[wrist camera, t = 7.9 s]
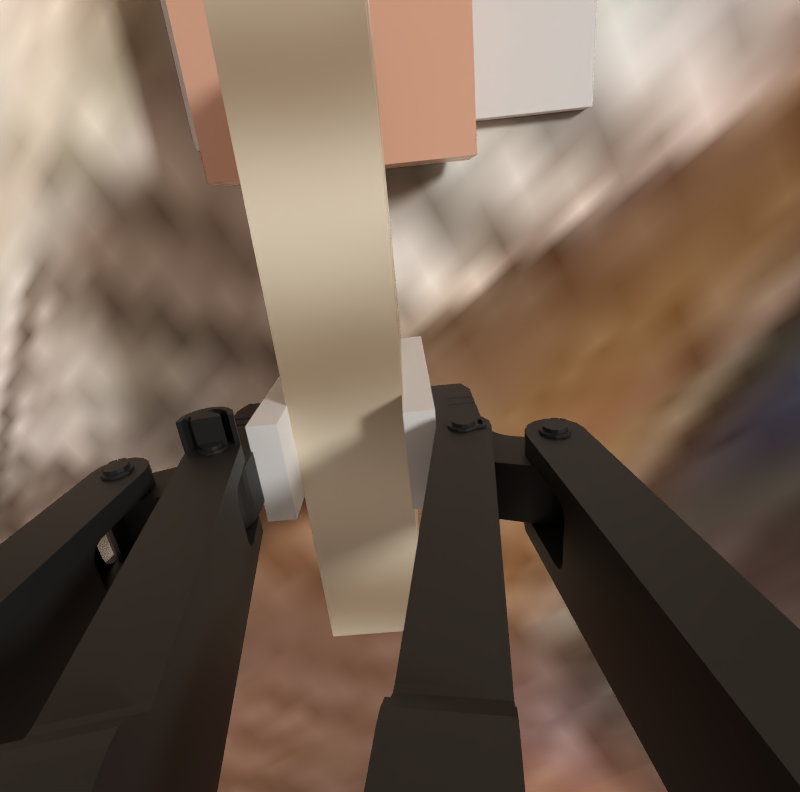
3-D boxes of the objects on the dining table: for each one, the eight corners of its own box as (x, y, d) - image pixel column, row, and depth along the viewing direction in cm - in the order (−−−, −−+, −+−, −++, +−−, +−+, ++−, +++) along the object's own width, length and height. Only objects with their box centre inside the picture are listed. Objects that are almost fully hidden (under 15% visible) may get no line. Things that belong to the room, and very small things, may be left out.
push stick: (417, 513, 21) (426, 628, 15) (349, 518, 21) (333, 636, 15) (369, 3, 14) (352, -132, 8) (266, 14, 14) (179, -111, 8)
